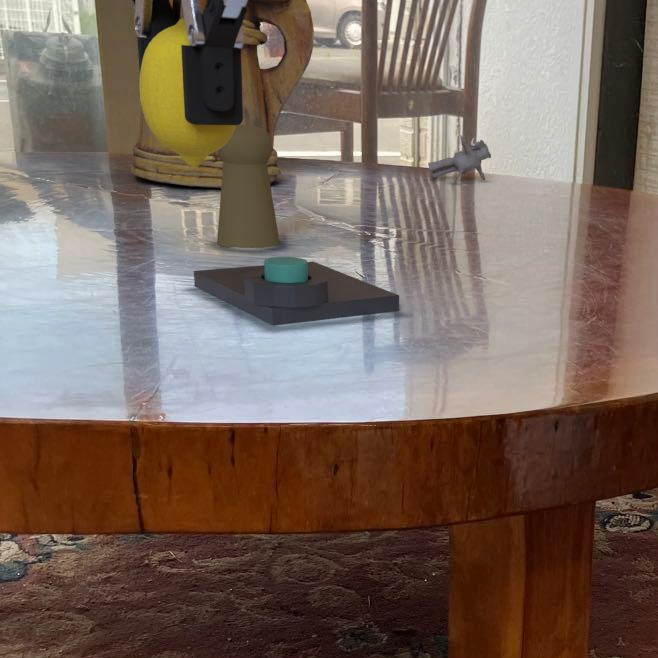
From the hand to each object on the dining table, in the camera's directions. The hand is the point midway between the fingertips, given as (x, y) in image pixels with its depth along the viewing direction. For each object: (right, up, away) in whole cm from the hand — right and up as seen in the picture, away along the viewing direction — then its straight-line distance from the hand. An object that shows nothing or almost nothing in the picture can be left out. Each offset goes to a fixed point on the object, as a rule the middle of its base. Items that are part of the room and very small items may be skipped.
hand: (191, 114), depth 65 cm
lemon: (0, -3, +1) cm, 3 cm away
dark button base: (0, -5, +26) cm, 26 cm away
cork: (-9, +4, +46) cm, 47 cm away
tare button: (+1, -5, +20) cm, 20 cm away
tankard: (-21, +23, +83) cm, 88 cm away
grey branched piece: (+9, +27, +97) cm, 102 cm away
